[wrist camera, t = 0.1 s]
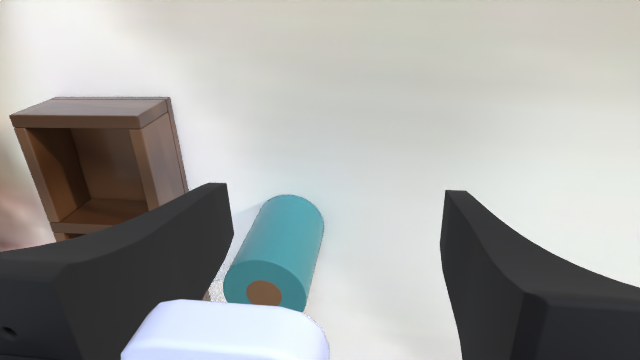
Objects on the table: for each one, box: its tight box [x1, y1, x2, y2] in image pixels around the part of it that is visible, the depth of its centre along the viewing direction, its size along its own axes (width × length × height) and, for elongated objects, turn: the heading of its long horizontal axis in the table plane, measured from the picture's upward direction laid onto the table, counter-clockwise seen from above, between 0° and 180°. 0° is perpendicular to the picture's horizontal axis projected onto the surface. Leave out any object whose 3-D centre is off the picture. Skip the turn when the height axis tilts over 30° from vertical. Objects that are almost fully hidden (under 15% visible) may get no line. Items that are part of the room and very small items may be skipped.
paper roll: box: [223, 195, 324, 312], centre depth 24 cm, size 4×4×6 cm
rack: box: [9, 97, 210, 301], centre depth 27 cm, size 20×7×4 cm, turn 2°
